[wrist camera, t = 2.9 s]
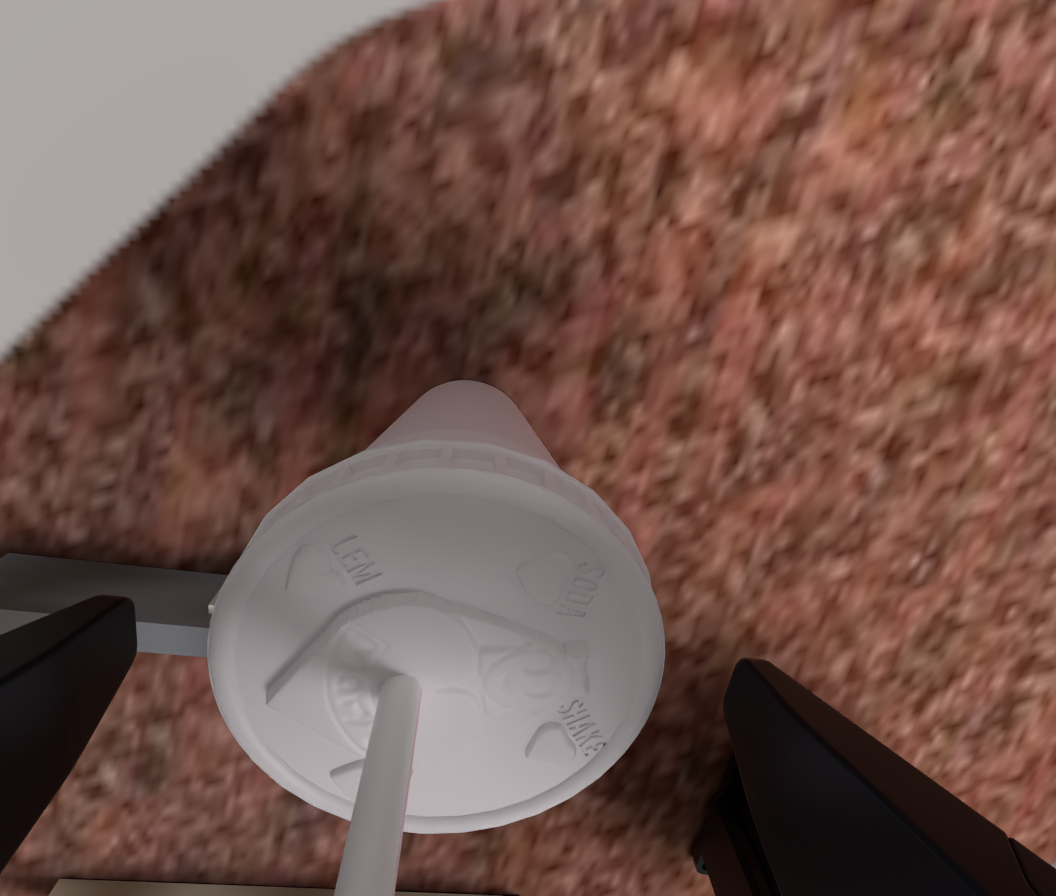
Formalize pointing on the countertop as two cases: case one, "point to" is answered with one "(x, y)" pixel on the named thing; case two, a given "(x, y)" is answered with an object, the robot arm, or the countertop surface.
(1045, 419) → the countertop surface
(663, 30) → the countertop surface
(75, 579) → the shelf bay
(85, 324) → the countertop surface
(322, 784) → the smoothie
